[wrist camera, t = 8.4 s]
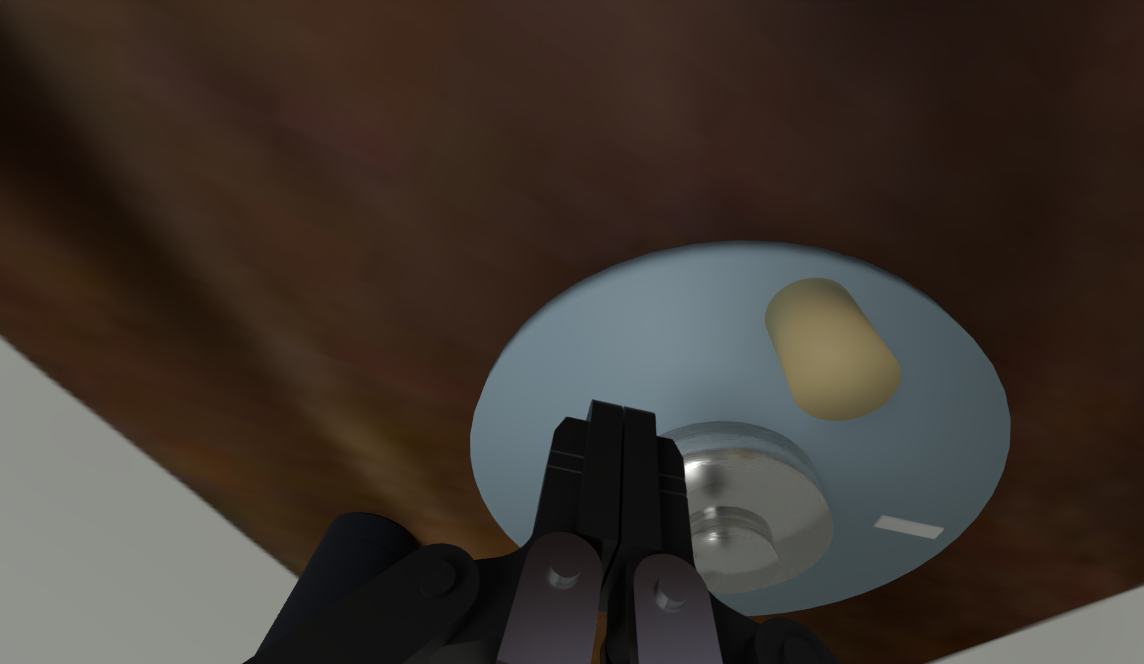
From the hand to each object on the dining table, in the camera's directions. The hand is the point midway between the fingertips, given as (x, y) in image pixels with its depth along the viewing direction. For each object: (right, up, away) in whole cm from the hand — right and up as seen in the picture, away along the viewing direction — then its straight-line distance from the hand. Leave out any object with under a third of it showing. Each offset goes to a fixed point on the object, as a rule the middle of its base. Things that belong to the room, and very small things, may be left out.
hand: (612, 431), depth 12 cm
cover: (+6, -5, +12) cm, 15 cm away
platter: (+6, -4, +13) cm, 15 cm away
